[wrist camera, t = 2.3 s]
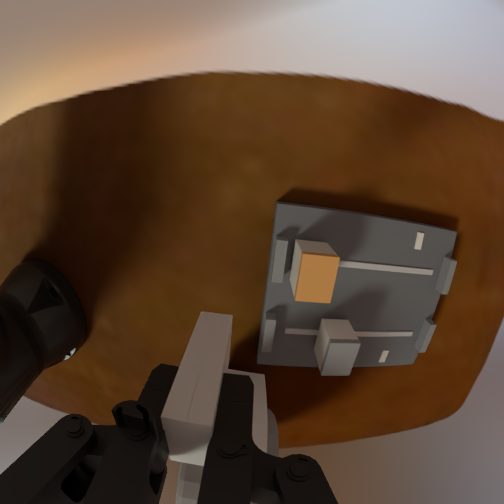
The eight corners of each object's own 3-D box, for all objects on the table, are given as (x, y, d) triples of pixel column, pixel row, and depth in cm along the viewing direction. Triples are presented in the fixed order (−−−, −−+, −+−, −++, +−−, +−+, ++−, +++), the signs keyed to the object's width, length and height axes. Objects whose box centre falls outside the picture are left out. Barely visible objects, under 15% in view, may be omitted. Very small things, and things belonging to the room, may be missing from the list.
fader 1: (289, 279, 27) (295, 300, 22) (295, 239, 26) (302, 253, 21) (319, 282, 27) (330, 303, 22) (326, 242, 26) (339, 257, 21)
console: (256, 353, 32) (256, 372, 29) (276, 201, 27) (278, 205, 24) (407, 355, 32) (417, 370, 29) (447, 228, 27) (464, 235, 24)
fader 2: (313, 349, 29) (321, 375, 25) (321, 318, 28) (330, 342, 24) (339, 349, 29) (349, 375, 25) (348, 319, 28) (360, 343, 24)
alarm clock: (250, 437, 38) (246, 546, 18) (197, 429, 37) (175, 537, 18) (276, 357, 32) (287, 511, 13) (207, 346, 32) (168, 497, 13)
